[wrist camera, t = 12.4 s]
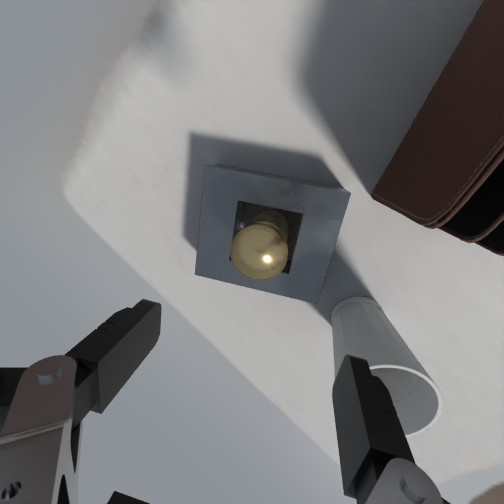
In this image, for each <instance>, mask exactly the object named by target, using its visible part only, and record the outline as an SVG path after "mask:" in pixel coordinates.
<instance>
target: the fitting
mask: <svg viewBox="0 0 504 504" xmlns="http://www.w3.org/2000/svg"><path fill="white" fill-rule="evenodd" d="M288 231H289V226H288V222H287V220H286V218H285V217H284V216H283V215H282V214H281V213H279V212H277V211H274V210H265V211H262V212H260V213H259V214H257V215H256V216H255V218H254V219H253V220H252V221H251V223H250V224H249V225H248V226H246V227H244V228H243V229H241V230H240V231H239V232H238V234H237V235H236V236H235V237H234V239H233V241H232V243H231V247H230V257H231V261H232V263H233V265H234V267H235V268H236V269H237V271H238V272H239V273H240V274H242V275H243V276H245V277H247V278H249V279H252V280H257V281H264V280H269V279H272V278H274V277H275V276H277V275H278V274H279V273H280V272H281V271H282V270H283V269H284V267H285V265H286V262H287V257H288V245H287V237H288Z"/></svg>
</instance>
